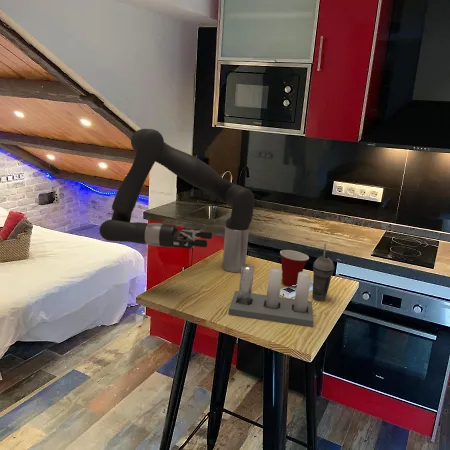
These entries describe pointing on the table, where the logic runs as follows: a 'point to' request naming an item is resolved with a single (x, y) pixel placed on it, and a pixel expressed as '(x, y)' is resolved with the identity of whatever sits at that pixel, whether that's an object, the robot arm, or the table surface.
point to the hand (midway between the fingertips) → (209, 239)
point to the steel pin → (245, 284)
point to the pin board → (278, 302)
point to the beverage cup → (322, 276)
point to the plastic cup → (292, 266)
